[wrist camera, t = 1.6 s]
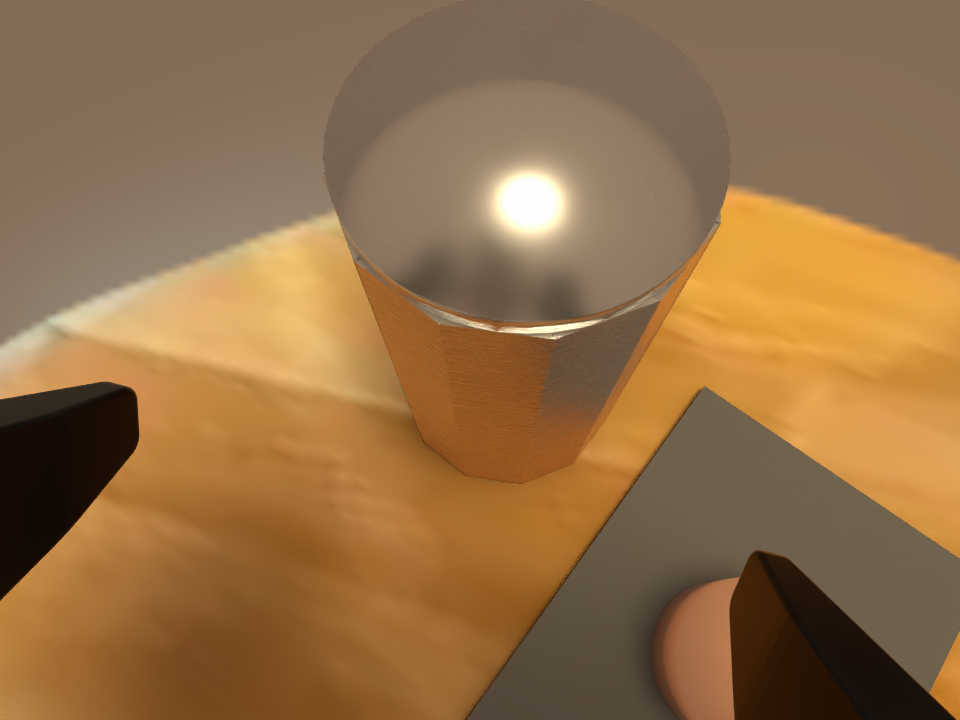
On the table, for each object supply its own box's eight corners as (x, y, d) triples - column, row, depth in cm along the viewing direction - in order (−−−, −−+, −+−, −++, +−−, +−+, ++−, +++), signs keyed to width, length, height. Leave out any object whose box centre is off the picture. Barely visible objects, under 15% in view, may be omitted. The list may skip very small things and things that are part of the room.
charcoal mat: (750, 1035, 16) (756, 1045, 16) (446, 747, 18) (445, 750, 18) (976, 577, 20) (986, 576, 20) (700, 389, 22) (704, 386, 22)
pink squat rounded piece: (753, 783, 18) (802, 814, 15) (622, 671, 19) (644, 682, 16) (829, 647, 19) (887, 653, 16) (701, 551, 20) (735, 540, 17)
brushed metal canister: (526, 524, 21) (572, 409, 9) (368, 397, 22) (238, 166, 11) (645, 367, 23) (806, 109, 11) (491, 261, 24) (491, -58, 13)
